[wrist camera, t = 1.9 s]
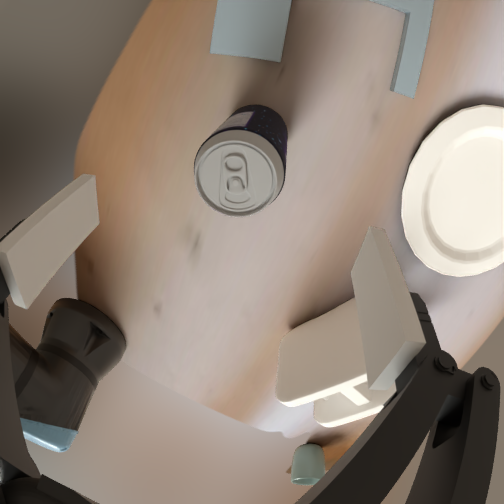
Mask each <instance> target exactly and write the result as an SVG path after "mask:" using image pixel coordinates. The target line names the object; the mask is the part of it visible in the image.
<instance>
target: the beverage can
mask: <svg viewBox="0 0 504 504" xmlns="http://www.w3.org/2000/svg"><path fill="white" fill-rule="evenodd" d="M287 139H288V133H287V128H286V125H285V123H284V121H283V119H282V118H281V116H280V115H279V114H278V113H276V112H275V111H274V110H272V109H270V108H268V107H266V106H262V105H248V106H245V107H242V108H240V109H238V110H237V111H235V112H234V113H233V114H232V115H231V116H230V117H229V118H228V119H227V120H226V121H225V122H224V123H223V124H222V125H221V126H220V127H219V128H218V129H217V130H216V131H215V132H214V133H213V134H212V135H211V136H210V137H209V138H208V139H207V140H206V141H205V142H204V143H203V144H202V145H201V147H200V148H199V150H198V152H197V155H196V158H195V162H194V175H195V185H196V188H197V191H198V193H199V195H200V197H201V198H202V199H203V201H204V202H205V203H206V204H207V205H208V206H209V207H210V208H212V209H213V210H215V211H217V212H218V213H221V214H223V215H226V216H230V217H246V216H251V215H254V214H256V213H258V212H260V211H262V210H263V209H264V208H266V207H267V206H268V205H269V204H271V203H272V202H273V201H274V200H275V199H276V198H277V196H278V195H279V193H280V192H281V190H282V188H283V185H284V181H285V172H286V156H287Z"/></svg>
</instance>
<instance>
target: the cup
mask: <svg viewBox="0 0 504 504" xmlns="http://www.w3.org/2000/svg"><path fill="white" fill-rule="evenodd" d="M324 475H325V455H324V451H323V449H322V448H321V447H320V446H319V445H316V444H303V445H301V446H299V447H298V448H297V449H296V450H295V452H294V456H293V461H292V470H291V482H292V483H294V484H298V485H315V484H316V483H317V482H318V481H319V480H320V479H321V478H322V477H323V476H324Z"/></svg>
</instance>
